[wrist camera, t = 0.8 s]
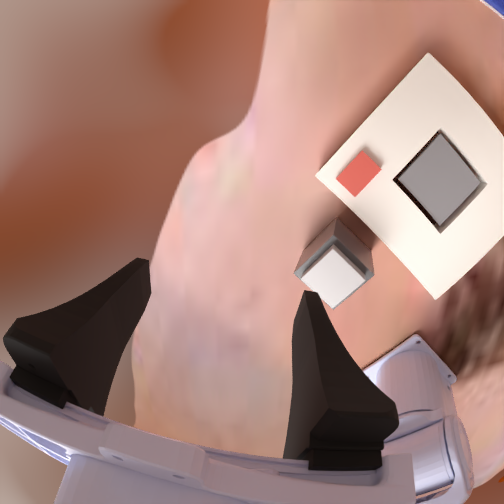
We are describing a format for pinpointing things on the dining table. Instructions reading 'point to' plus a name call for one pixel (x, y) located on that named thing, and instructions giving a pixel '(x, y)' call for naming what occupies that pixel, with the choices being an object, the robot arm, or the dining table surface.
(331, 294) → the plug
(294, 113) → the dining table surface
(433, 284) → the socket plate
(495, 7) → the hard drive
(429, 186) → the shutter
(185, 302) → the dining table surface
